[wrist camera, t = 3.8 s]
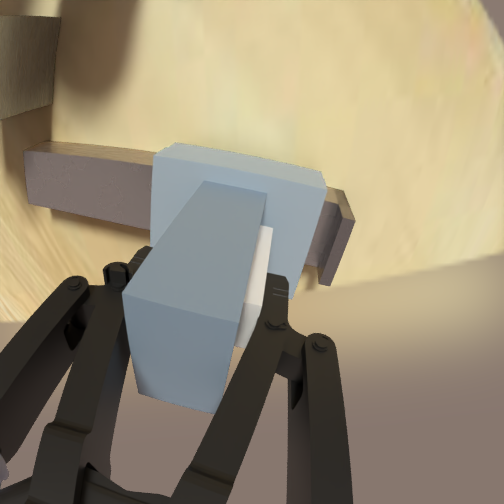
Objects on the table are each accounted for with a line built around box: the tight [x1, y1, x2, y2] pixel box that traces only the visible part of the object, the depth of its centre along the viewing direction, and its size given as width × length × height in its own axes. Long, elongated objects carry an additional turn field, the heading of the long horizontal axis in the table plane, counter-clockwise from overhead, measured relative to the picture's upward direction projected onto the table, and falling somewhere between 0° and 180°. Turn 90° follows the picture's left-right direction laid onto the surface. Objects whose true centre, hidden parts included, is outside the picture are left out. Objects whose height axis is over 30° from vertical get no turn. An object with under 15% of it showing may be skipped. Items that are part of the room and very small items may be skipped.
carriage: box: [122, 143, 327, 414], centre depth 16 cm, size 10×8×14 cm
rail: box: [23, 141, 355, 286], centre depth 21 cm, size 26×5×5 cm, turn 80°
